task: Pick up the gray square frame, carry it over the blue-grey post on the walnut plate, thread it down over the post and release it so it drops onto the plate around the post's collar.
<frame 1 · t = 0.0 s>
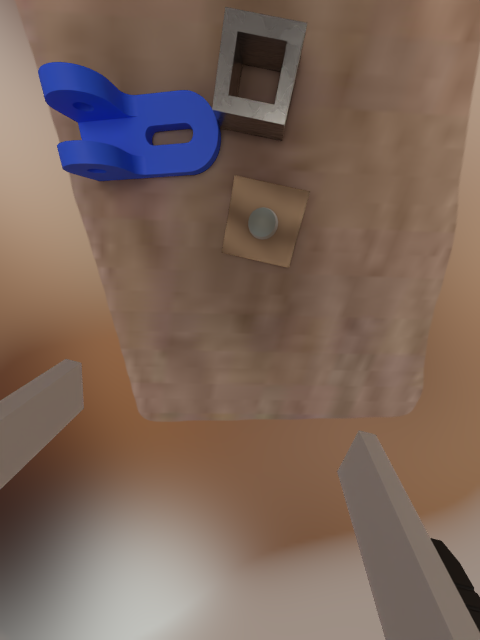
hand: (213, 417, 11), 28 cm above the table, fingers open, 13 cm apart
post: (263, 224, 34), on the table
bracket: (155, 142, 32), on the table
gray square frame: (258, 95, 29), on the table
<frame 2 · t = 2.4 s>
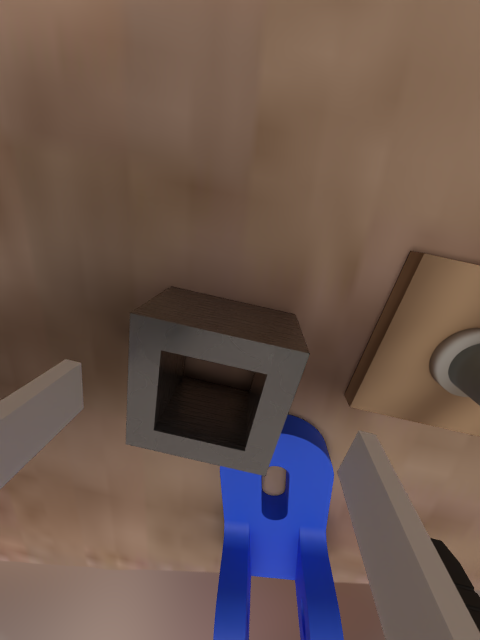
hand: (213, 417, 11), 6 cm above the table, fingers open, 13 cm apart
post: (451, 349, 15), on the table
bracket: (273, 489, 21), on the table
gray square frame: (221, 354, 16), on the table
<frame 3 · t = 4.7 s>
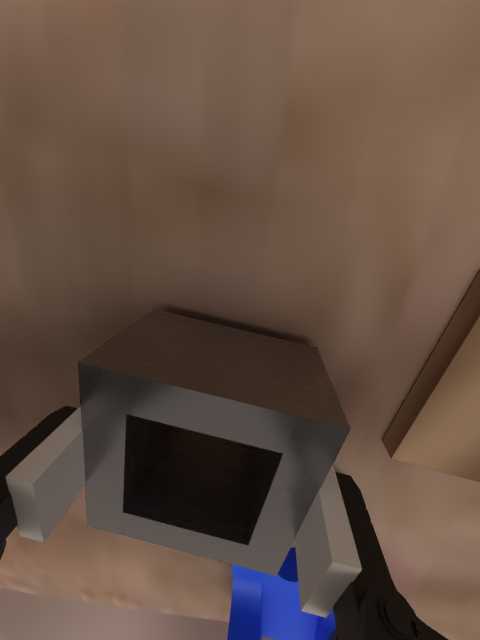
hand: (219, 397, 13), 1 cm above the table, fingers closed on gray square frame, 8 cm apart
bracket: (289, 539, 19), on the table
gray square frame: (220, 394, 13), point 1 cm above the table, touching gripper
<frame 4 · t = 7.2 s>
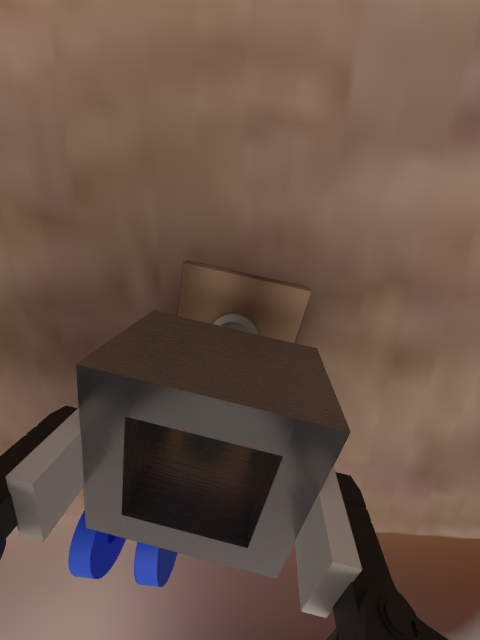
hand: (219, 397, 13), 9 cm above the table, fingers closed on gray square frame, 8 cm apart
post: (235, 329, 21), on the table
bracket: (149, 444, 28), on the table
gray square frame: (220, 395, 13), point 9 cm above the table, touching gripper
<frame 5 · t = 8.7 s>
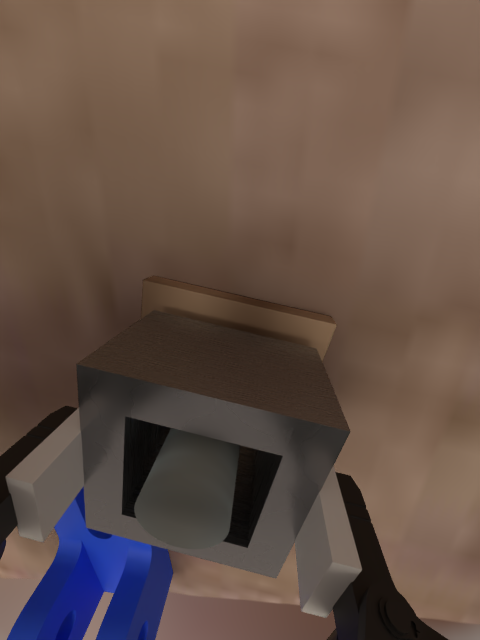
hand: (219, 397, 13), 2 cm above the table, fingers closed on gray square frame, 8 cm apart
post: (225, 371, 15), on the table
bracket: (117, 506, 22), on the table
gray square frame: (220, 395, 13), point 2 cm above the table, touching gripper
when the fingers open (2 cm above the table, at t = 9.7 s): gray square frame stays where it is, resting on post.
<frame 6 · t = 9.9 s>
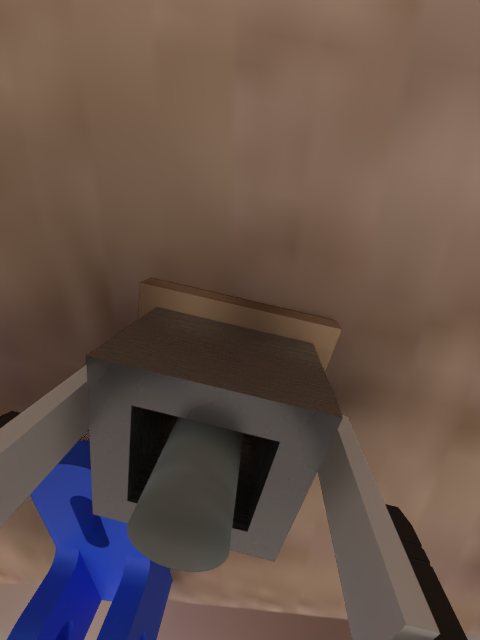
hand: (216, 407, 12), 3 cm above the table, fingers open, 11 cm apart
post: (225, 376, 14), on the table
bracket: (115, 513, 21), on the table
gray square frame: (220, 389, 13), point 1 cm above the table, touching post
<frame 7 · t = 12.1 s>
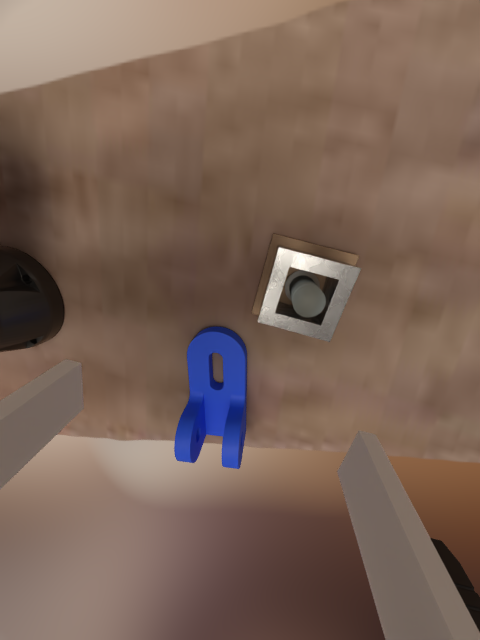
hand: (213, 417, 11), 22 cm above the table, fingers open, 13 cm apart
post: (300, 284, 30), on the table
bracket: (220, 379, 37), on the table
gray square frame: (300, 286, 29), point 1 cm above the table, touching post
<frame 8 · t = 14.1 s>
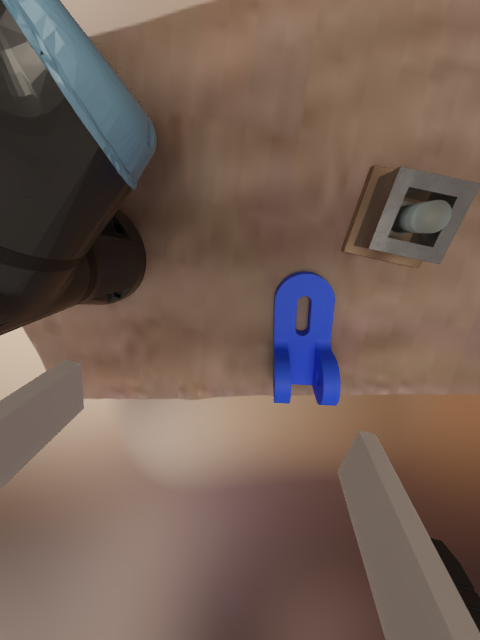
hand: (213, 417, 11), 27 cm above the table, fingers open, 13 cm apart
post: (393, 220, 31), on the table
bracket: (300, 328, 38), on the table
gray square frame: (397, 219, 30), point 1 cm above the table, touching post
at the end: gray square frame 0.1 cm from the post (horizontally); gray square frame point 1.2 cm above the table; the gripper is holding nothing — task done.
